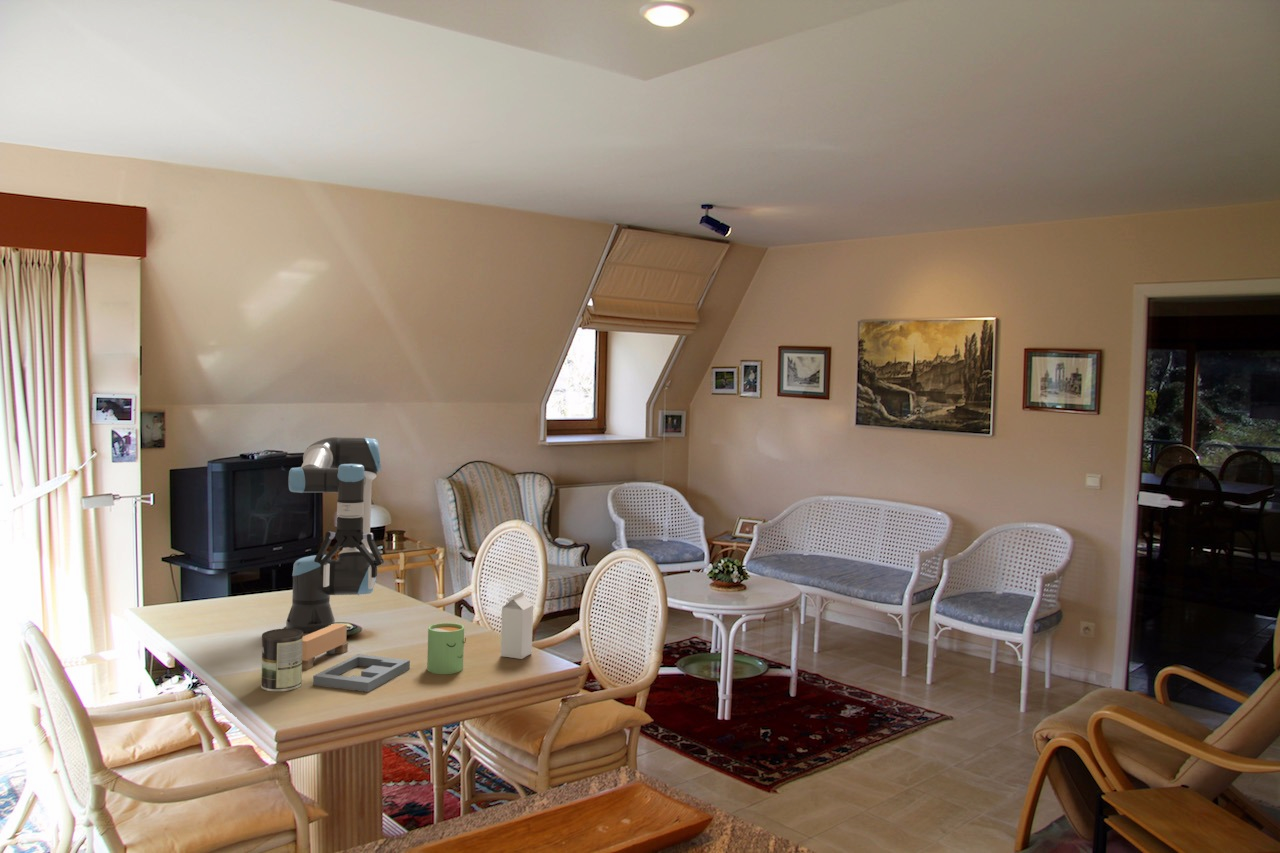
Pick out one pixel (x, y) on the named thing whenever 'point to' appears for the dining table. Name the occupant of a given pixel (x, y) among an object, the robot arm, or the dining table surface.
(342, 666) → the board with u-shaped cutout
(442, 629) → the mug
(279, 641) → the coffee can
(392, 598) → the dining table surface
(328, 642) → the strip
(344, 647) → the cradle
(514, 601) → the milk carton
